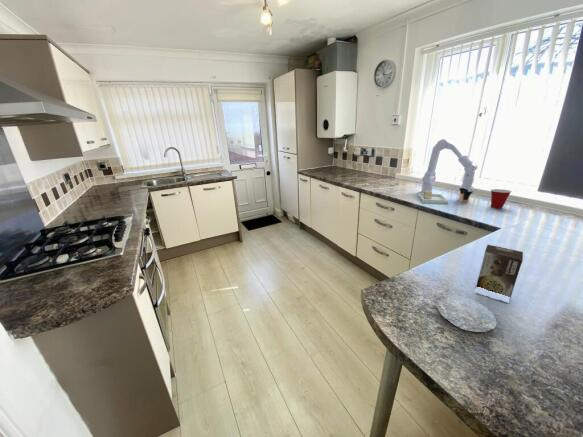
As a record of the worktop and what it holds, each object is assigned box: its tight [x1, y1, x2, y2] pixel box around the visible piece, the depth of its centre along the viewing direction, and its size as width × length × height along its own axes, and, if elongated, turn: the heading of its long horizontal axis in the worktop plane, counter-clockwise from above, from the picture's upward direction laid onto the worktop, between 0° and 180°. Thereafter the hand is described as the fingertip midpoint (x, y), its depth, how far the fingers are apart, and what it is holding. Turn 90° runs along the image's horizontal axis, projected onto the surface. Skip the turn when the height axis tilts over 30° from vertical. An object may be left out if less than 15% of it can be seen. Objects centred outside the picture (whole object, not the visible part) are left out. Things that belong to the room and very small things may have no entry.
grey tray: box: [417, 192, 449, 205], centre depth 183 cm, size 18×16×2 cm
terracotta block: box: [458, 193, 470, 203], centre depth 178 cm, size 4×4×5 cm
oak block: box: [424, 191, 433, 199], centre depth 185 cm, size 4×4×5 cm
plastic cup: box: [490, 188, 512, 210], centre depth 161 cm, size 11×11×12 cm
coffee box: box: [475, 244, 524, 298], centre depth 79 cm, size 9×6×16 cm
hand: (463, 198), depth 178 cm, fingers open, 5 cm apart
